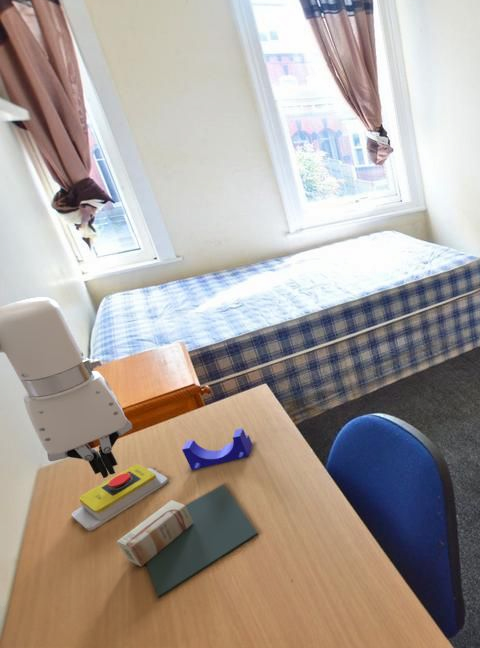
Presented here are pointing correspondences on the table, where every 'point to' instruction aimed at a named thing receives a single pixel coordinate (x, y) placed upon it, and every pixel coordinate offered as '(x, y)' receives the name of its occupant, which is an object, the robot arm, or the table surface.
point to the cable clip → (230, 452)
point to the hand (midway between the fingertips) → (108, 471)
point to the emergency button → (117, 495)
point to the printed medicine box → (155, 533)
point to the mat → (201, 540)
